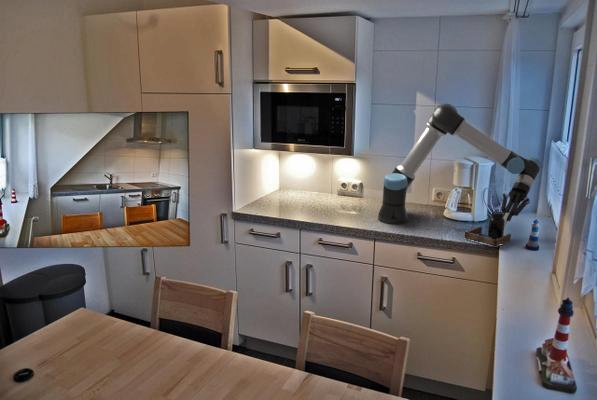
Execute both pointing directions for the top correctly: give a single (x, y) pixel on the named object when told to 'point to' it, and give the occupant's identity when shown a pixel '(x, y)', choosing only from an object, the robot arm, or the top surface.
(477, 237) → the walnut bay
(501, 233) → the supplement bottle
